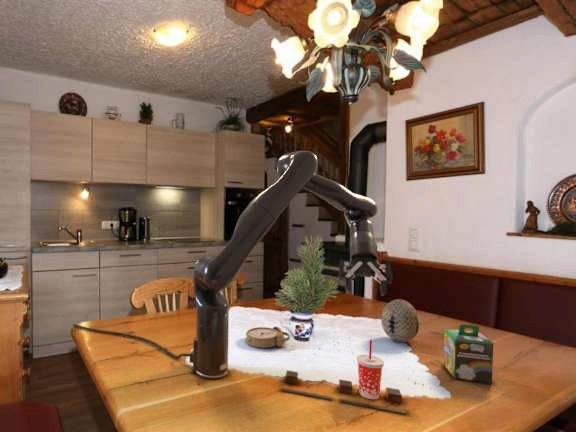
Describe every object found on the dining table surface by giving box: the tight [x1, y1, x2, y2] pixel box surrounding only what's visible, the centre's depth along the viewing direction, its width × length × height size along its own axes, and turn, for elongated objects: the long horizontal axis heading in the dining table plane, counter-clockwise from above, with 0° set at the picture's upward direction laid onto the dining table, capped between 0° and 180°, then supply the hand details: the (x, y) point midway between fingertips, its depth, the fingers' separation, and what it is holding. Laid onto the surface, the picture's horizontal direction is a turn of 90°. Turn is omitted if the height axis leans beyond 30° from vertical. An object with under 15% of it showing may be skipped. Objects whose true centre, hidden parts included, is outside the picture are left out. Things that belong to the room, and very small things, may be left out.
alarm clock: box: [245, 326, 291, 349], centre depth 123 cm, size 11×5×15 cm
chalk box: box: [443, 323, 495, 385], centre depth 102 cm, size 9×9×15 cm
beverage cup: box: [356, 339, 385, 400], centre depth 90 cm, size 6×6×14 cm
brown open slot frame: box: [338, 379, 407, 416], centre depth 87 cm, size 14×8×2 cm, turn 70°
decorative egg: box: [380, 298, 420, 343], centre depth 127 cm, size 12×12×15 cm
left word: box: [281, 370, 333, 401], centre depth 93 cm, size 12×8×2 cm, turn 70°
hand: (366, 292), depth 101 cm, fingers open, 8 cm apart
